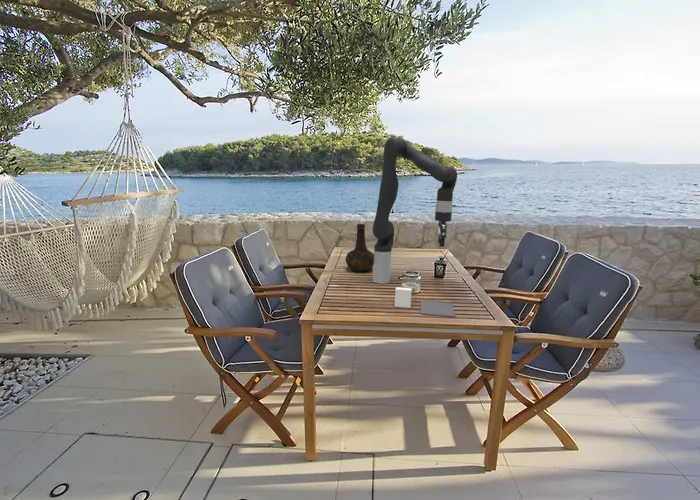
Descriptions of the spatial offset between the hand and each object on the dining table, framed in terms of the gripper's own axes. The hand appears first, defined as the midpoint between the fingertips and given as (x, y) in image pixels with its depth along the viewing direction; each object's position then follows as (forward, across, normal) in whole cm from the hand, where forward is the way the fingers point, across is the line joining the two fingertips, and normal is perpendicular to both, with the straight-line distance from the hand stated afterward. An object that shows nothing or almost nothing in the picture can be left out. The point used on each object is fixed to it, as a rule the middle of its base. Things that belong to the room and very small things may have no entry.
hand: (441, 244), depth 183 cm
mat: (+25, +19, -1) cm, 32 cm away
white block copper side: (+25, +18, -16) cm, 35 cm away
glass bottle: (+26, -41, -42) cm, 65 cm away
